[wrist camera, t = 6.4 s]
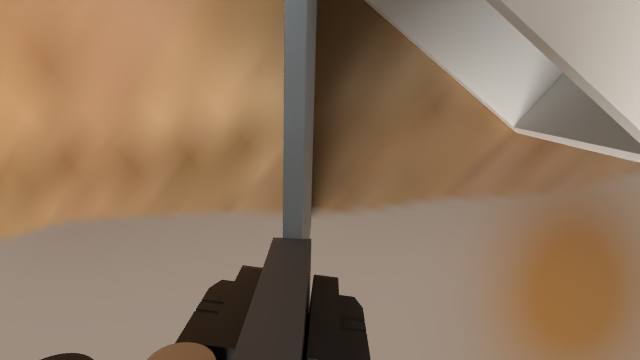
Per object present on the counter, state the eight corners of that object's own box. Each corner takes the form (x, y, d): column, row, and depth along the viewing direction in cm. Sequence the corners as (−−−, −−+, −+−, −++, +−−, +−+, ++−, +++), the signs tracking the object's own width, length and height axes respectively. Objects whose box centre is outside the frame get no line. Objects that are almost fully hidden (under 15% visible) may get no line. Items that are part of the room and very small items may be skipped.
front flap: (300, -28, 19) (181, -570, 3) (323, -27, 19) (317, -565, 3) (295, 225, 22) (227, 547, 7) (315, 225, 22) (294, 549, 7)
